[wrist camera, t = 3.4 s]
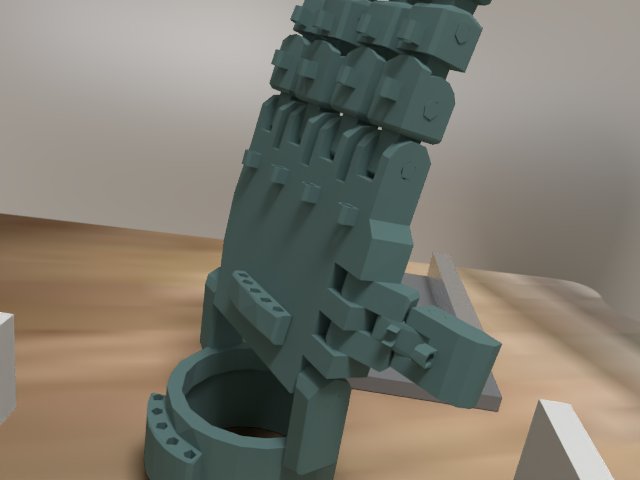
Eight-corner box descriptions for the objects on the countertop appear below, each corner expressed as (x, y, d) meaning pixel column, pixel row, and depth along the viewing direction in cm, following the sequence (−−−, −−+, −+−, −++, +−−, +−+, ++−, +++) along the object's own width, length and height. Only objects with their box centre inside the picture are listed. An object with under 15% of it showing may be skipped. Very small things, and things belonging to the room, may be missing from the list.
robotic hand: (380, 705, 20) (751, 27, 18) (75, 683, 16) (495, -200, 14) (280, 460, 33) (486, 45, 30) (95, 414, 29) (313, -69, 26)
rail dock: (203, 364, 36) (208, 313, 35) (251, 259, 53) (256, 222, 52) (498, 411, 36) (512, 361, 35) (451, 290, 53) (460, 254, 52)
